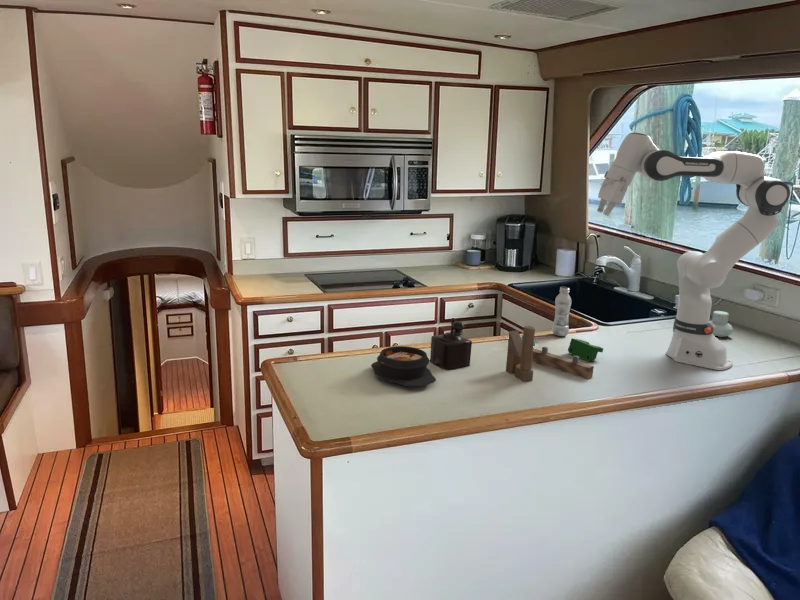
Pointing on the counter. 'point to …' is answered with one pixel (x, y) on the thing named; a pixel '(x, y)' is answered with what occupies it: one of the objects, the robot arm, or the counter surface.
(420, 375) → the casserole
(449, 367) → the coffee grinder
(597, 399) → the counter surface
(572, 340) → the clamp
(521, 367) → the wooden letter n
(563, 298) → the plastic bottle
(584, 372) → the bar
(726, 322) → the air freshener
